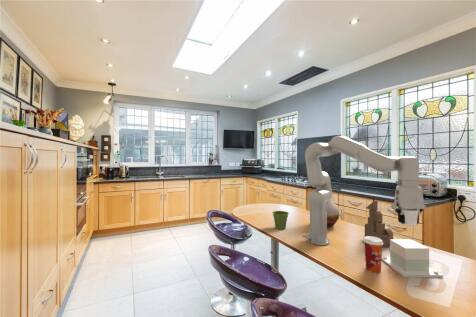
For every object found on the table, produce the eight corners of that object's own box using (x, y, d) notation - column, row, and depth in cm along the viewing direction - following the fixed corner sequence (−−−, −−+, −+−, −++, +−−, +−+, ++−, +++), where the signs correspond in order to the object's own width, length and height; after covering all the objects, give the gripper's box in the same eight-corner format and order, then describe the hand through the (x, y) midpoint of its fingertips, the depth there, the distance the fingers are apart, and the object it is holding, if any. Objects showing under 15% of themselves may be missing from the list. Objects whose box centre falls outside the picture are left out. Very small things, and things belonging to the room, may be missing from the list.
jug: (307, 225, 160) (306, 185, 159) (318, 220, 172) (318, 183, 171) (333, 231, 145) (332, 187, 145) (343, 225, 157) (343, 185, 157)
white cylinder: (395, 222, 101) (395, 207, 101) (408, 221, 101) (408, 206, 101) (408, 226, 94) (408, 211, 94) (422, 226, 94) (422, 210, 94)
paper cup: (376, 275, 91) (375, 243, 91) (359, 267, 98) (359, 237, 98) (387, 271, 94) (387, 240, 94) (370, 263, 101) (370, 234, 101)
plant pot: (285, 232, 146) (285, 215, 145) (269, 229, 152) (269, 213, 152) (291, 227, 156) (291, 211, 155) (276, 224, 162) (275, 209, 162)
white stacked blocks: (403, 277, 90) (403, 251, 90) (380, 258, 106) (379, 237, 106) (442, 277, 89) (442, 251, 89) (413, 259, 105) (412, 237, 105)
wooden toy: (394, 245, 121) (393, 202, 121) (385, 247, 119) (384, 203, 119) (370, 236, 136) (370, 197, 136) (362, 237, 134) (361, 198, 134)
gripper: (394, 184, 94) (395, 225, 94) (434, 184, 93) (435, 225, 93) (383, 182, 102) (384, 220, 102) (420, 182, 101) (421, 220, 101)
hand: (408, 222), depth 98 cm, fingers closed on white cylinder, 5 cm apart
